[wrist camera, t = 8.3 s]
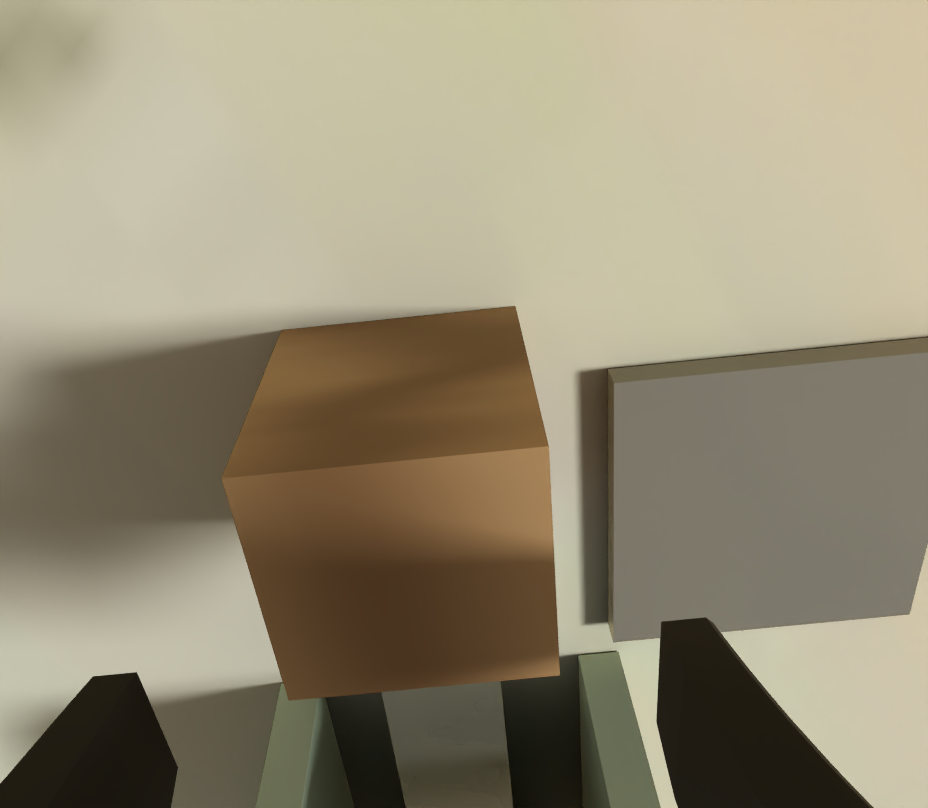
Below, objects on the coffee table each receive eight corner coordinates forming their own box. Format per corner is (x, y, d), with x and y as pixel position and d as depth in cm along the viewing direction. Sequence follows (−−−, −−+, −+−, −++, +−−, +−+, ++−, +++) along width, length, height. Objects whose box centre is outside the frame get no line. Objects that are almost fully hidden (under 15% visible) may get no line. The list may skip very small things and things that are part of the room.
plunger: (526, 498, 17) (553, 653, 13) (550, 865, 24) (572, 1036, 20) (326, 517, 17) (297, 676, 13) (407, 878, 24) (403, 1050, 20)
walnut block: (514, 305, 15) (548, 446, 11) (528, 494, 17) (560, 675, 13) (282, 328, 15) (220, 478, 11) (324, 514, 17) (288, 700, 13)
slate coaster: (959, 334, 16) (978, 347, 15) (896, 596, 19) (909, 614, 18) (607, 368, 16) (614, 383, 15) (608, 623, 19) (613, 642, 19)
